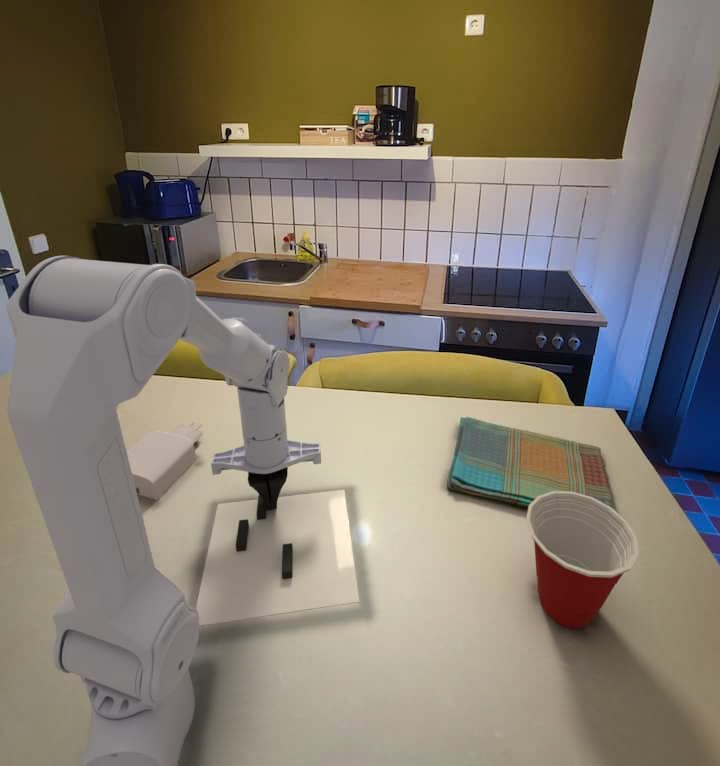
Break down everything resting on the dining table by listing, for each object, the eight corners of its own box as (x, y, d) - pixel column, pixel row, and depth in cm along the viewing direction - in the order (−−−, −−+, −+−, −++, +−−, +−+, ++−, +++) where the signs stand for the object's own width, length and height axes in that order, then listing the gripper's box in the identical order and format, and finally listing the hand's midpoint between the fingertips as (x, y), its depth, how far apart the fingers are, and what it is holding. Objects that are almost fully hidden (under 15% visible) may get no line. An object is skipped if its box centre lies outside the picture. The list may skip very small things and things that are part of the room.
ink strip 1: (245, 550, 55) (245, 544, 55) (236, 552, 55) (235, 545, 55) (249, 525, 59) (248, 519, 58) (240, 526, 59) (239, 520, 58)
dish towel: (459, 423, 81) (460, 411, 80) (597, 451, 73) (600, 439, 73) (445, 491, 65) (446, 478, 65) (618, 535, 58) (622, 521, 57)
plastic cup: (531, 542, 57) (544, 472, 53) (624, 594, 51) (646, 519, 47) (499, 608, 49) (512, 532, 45) (603, 680, 43) (629, 598, 39)
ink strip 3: (292, 578, 52) (291, 571, 51) (282, 579, 52) (281, 572, 51) (292, 549, 55) (292, 542, 55) (283, 550, 55) (282, 544, 55)
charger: (220, 440, 77) (157, 505, 63) (178, 429, 79) (110, 489, 66) (217, 418, 75) (152, 480, 62) (174, 407, 78) (103, 465, 65)
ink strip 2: (265, 519, 60) (265, 512, 59) (257, 520, 60) (256, 513, 59) (267, 497, 63) (267, 491, 63) (259, 498, 63) (258, 492, 63)
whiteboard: (366, 613, 49) (366, 607, 49) (184, 640, 46) (183, 634, 46) (348, 490, 66) (348, 485, 65) (214, 505, 63) (213, 500, 63)
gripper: (317, 403, 61) (321, 477, 66) (213, 412, 60) (224, 488, 64) (320, 436, 55) (323, 516, 60) (203, 447, 53) (216, 528, 58)
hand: (272, 504), depth 61 cm, fingers closed
